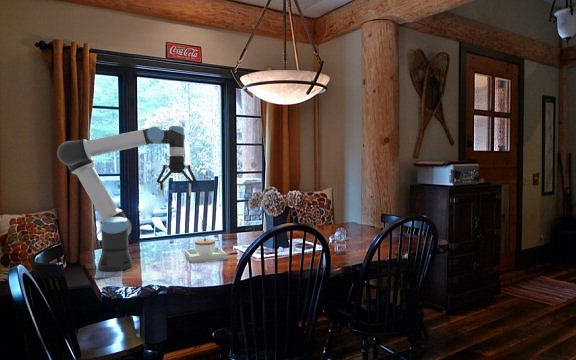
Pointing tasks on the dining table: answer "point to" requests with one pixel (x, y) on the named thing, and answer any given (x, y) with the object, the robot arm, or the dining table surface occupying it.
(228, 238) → the dining table surface
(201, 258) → the sage bin
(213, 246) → the lidded jar
